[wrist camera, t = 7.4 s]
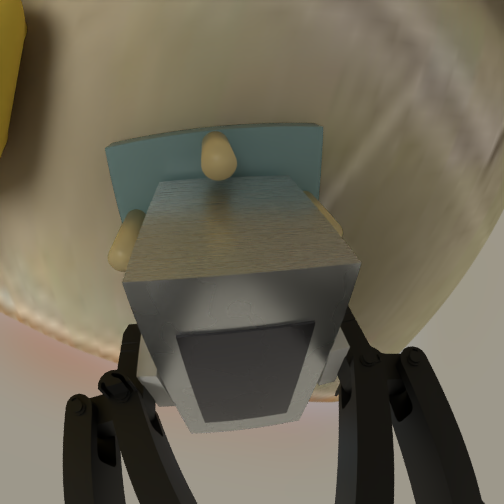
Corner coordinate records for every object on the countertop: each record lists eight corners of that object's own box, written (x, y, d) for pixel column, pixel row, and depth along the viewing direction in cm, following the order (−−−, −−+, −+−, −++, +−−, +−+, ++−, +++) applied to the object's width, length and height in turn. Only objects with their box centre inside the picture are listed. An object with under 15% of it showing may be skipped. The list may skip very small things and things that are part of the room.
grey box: (159, 182, 12) (121, 285, 6) (288, 175, 12) (363, 264, 7) (187, 338, 18) (191, 434, 12) (273, 330, 19) (299, 421, 13)
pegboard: (112, 142, 12) (74, 170, 8) (314, 123, 13) (359, 142, 9) (168, 338, 20) (167, 389, 16) (297, 321, 21) (314, 368, 18)
